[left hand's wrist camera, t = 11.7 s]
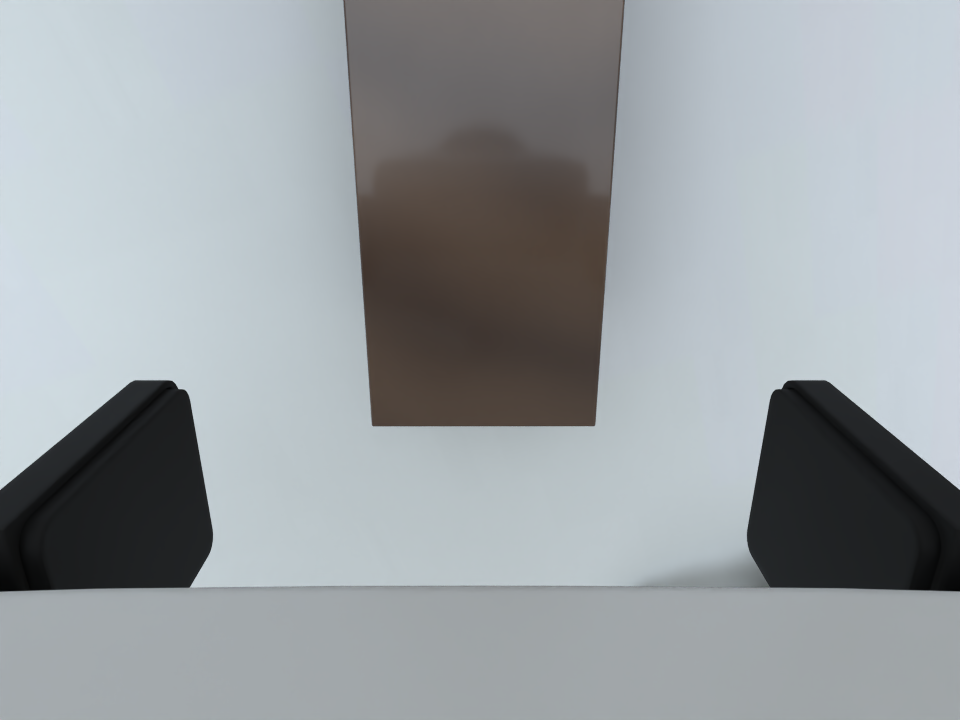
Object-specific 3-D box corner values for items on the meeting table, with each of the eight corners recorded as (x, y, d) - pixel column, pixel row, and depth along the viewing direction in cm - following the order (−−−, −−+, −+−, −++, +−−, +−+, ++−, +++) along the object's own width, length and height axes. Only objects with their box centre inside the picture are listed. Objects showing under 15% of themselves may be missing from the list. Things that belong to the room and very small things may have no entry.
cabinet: (385, -235, 22) (308, -495, 12) (580, -235, 22) (659, -496, 12) (408, 315, 29) (371, 427, 19) (557, 314, 29) (595, 427, 19)
